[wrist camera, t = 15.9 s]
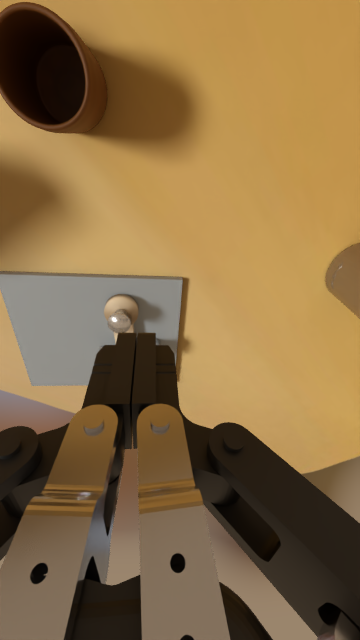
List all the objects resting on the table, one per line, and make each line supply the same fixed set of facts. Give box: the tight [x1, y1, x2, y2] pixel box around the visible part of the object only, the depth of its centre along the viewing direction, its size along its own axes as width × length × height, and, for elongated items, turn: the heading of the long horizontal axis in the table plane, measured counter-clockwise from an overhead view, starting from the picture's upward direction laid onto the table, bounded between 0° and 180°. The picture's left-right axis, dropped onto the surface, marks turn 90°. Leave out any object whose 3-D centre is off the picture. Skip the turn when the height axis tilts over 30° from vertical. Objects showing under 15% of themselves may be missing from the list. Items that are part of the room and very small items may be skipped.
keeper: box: [98, 309, 161, 352], centre depth 43 cm, size 10×10×4 cm
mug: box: [0, 2, 107, 133], centre depth 24 cm, size 12×8×9 cm, turn 53°
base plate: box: [0, 271, 183, 386], centre depth 46 cm, size 26×22×1 cm
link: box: [104, 294, 139, 344], centre depth 44 cm, size 18×5×6 cm, turn 179°
